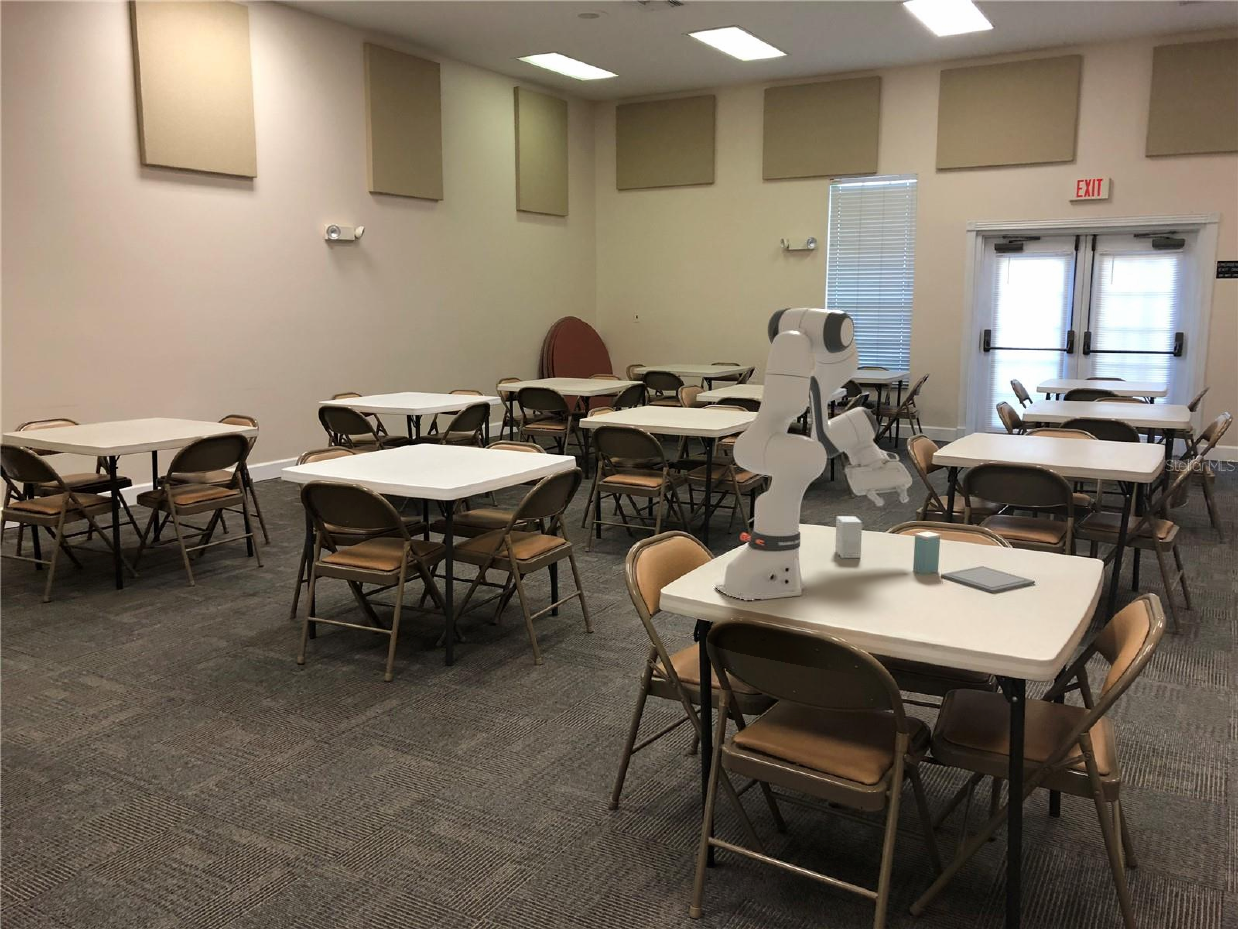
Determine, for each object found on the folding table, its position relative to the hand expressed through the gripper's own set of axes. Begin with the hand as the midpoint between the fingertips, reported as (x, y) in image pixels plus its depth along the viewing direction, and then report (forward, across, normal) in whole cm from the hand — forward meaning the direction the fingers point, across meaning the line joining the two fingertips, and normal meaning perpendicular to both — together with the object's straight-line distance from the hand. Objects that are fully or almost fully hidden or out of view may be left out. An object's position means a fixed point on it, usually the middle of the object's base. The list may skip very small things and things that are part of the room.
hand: (893, 503), depth 248 cm
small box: (+4, -6, +19) cm, 21 cm away
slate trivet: (+30, +7, -7) cm, 32 cm away
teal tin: (+20, 0, +3) cm, 21 cm away
